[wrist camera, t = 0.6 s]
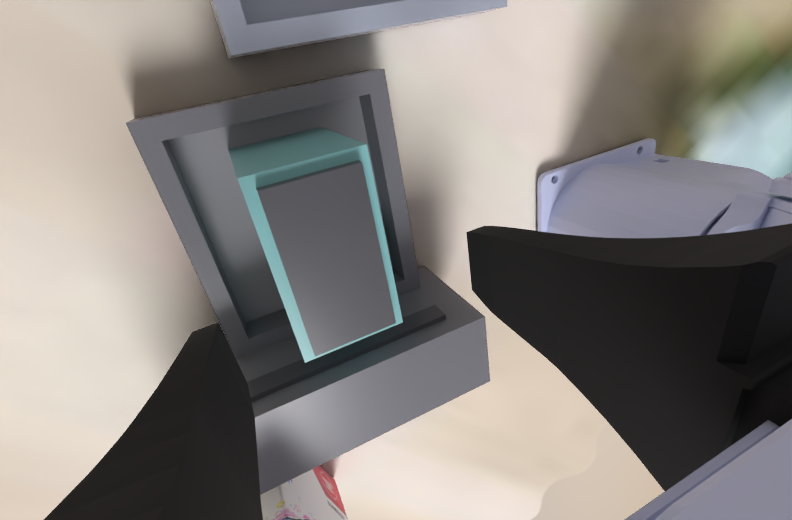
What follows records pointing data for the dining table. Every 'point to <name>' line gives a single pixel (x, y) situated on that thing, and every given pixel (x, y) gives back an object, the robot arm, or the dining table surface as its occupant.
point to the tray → (326, 19)
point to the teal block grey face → (321, 235)
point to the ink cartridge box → (304, 498)
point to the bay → (258, 294)
